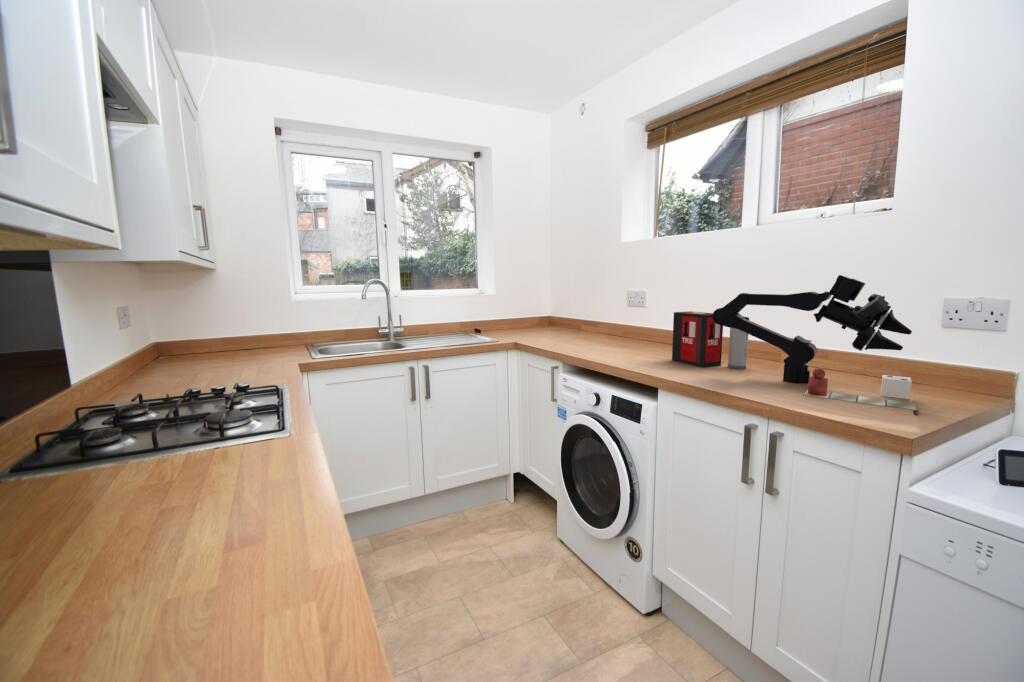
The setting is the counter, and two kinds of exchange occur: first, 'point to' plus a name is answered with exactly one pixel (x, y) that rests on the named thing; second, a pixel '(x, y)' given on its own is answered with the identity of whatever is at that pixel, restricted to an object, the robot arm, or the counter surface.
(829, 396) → the board
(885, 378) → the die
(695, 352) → the cleaning product box
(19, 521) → the counter surface
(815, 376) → the pawn
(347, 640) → the counter surface
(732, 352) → the travel mug
